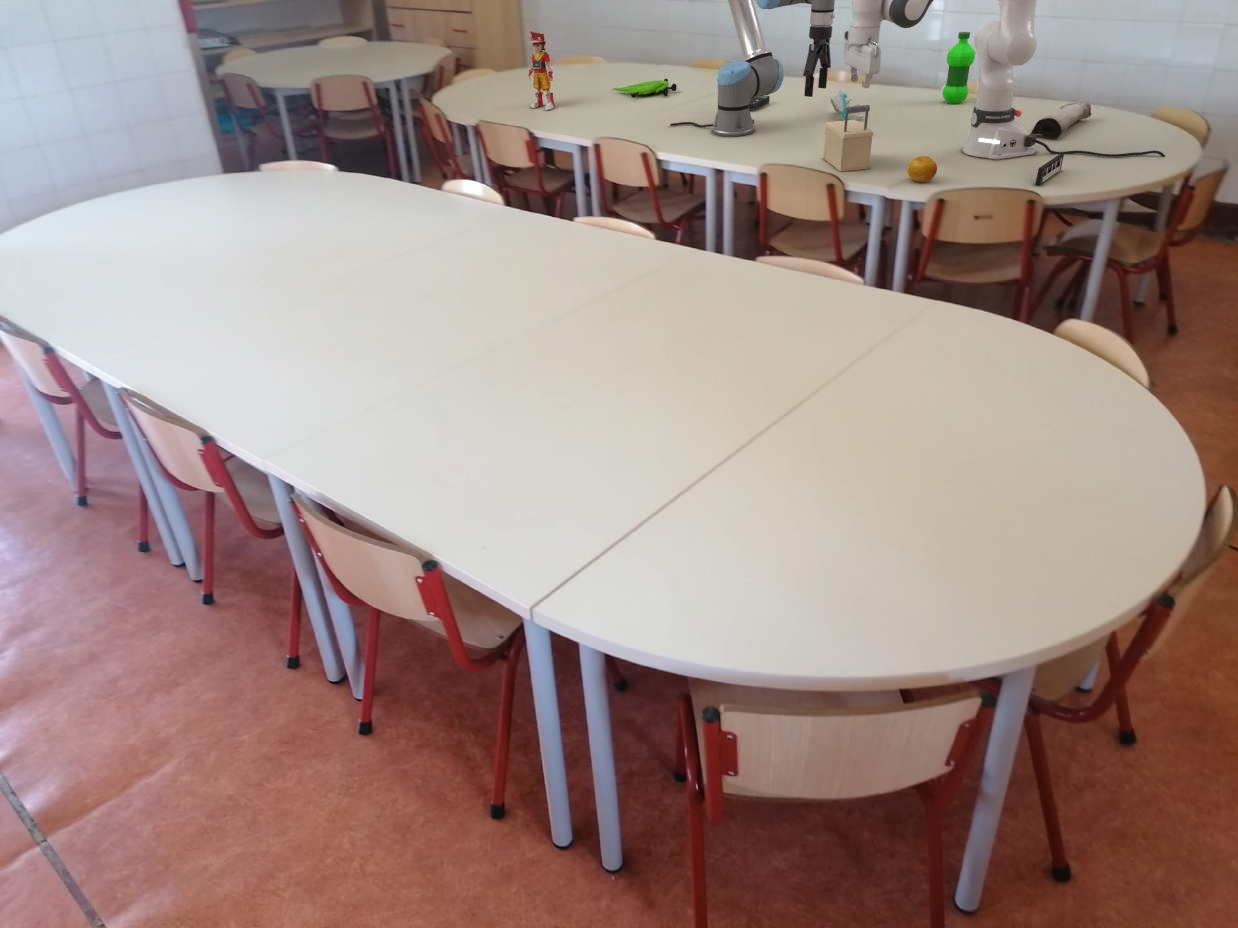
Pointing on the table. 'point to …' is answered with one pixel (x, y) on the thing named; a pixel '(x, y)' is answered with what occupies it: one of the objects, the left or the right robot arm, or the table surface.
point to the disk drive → (758, 102)
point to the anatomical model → (843, 105)
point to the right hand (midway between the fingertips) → (859, 84)
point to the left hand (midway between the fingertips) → (815, 92)
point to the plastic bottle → (958, 69)
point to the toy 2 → (648, 88)
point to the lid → (851, 124)
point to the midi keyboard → (1049, 169)
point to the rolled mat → (1061, 119)
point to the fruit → (922, 169)
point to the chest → (847, 151)
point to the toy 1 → (541, 71)
